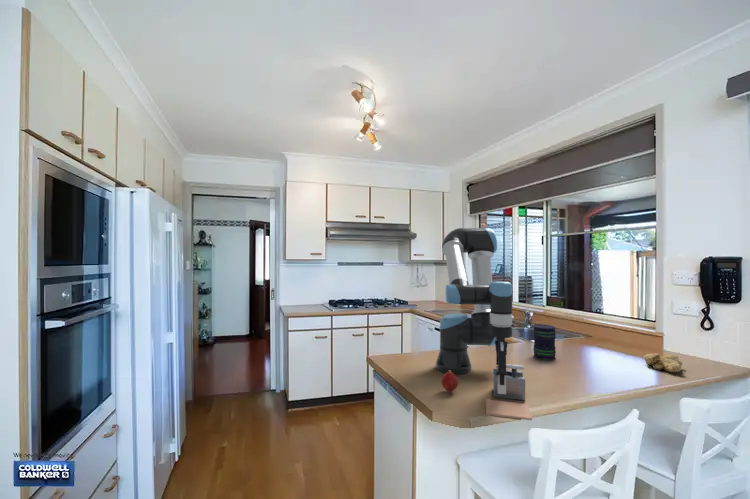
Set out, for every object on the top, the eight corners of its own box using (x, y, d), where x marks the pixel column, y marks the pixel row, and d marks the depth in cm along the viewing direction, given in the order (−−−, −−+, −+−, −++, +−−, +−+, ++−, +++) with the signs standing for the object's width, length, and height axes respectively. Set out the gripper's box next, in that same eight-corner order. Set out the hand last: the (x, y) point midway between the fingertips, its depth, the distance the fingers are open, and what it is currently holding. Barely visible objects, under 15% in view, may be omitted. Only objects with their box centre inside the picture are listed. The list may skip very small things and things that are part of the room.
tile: (486, 414, 112) (486, 412, 112) (486, 401, 123) (486, 399, 123) (531, 420, 108) (531, 418, 108) (527, 406, 119) (527, 404, 119)
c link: (494, 396, 126) (494, 376, 126) (493, 387, 135) (493, 368, 135) (525, 400, 123) (525, 379, 123) (522, 390, 132) (522, 371, 132)
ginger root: (647, 358, 172) (651, 342, 171) (689, 375, 159) (694, 358, 158) (632, 364, 164) (636, 348, 162) (675, 383, 151) (680, 365, 149)
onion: (439, 389, 133) (439, 367, 133) (455, 389, 134) (455, 367, 134) (443, 395, 127) (443, 372, 128) (460, 395, 128) (460, 372, 128)
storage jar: (554, 361, 171) (554, 329, 172) (531, 357, 177) (531, 326, 177) (557, 356, 180) (556, 325, 180) (535, 353, 185) (535, 323, 186)
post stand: (505, 395, 128) (505, 365, 128) (505, 393, 130) (504, 363, 130) (523, 397, 126) (523, 367, 126) (523, 394, 128) (523, 364, 129)
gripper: (515, 331, 118) (515, 401, 118) (509, 320, 139) (509, 379, 139) (490, 330, 121) (490, 398, 120) (489, 319, 141) (489, 377, 141)
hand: (501, 388), depth 130 cm, fingers closed on c link, 9 cm apart
